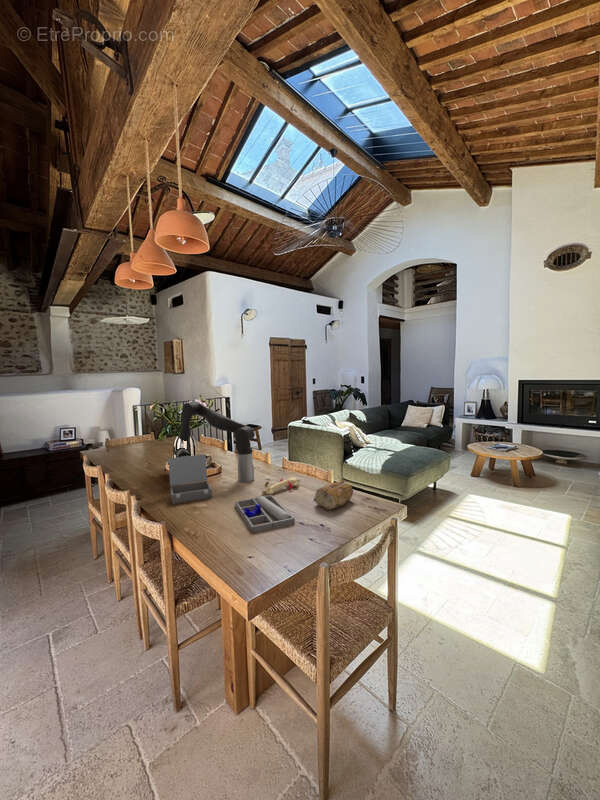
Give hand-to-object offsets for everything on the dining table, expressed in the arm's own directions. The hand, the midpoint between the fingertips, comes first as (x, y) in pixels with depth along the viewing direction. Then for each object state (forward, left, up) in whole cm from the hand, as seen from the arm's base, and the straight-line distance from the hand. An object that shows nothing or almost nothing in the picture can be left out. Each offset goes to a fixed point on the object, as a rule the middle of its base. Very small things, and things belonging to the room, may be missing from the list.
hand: (186, 462), depth 202 cm
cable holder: (-24, +57, -14) cm, 63 cm away
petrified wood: (-66, +61, -14) cm, 91 cm away
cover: (0, +9, -2) cm, 9 cm away
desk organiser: (-28, +57, -14) cm, 65 cm away
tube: (-33, +58, -15) cm, 69 cm away
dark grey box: (0, +18, -14) cm, 23 cm away
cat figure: (-49, +30, -15) cm, 59 cm away
